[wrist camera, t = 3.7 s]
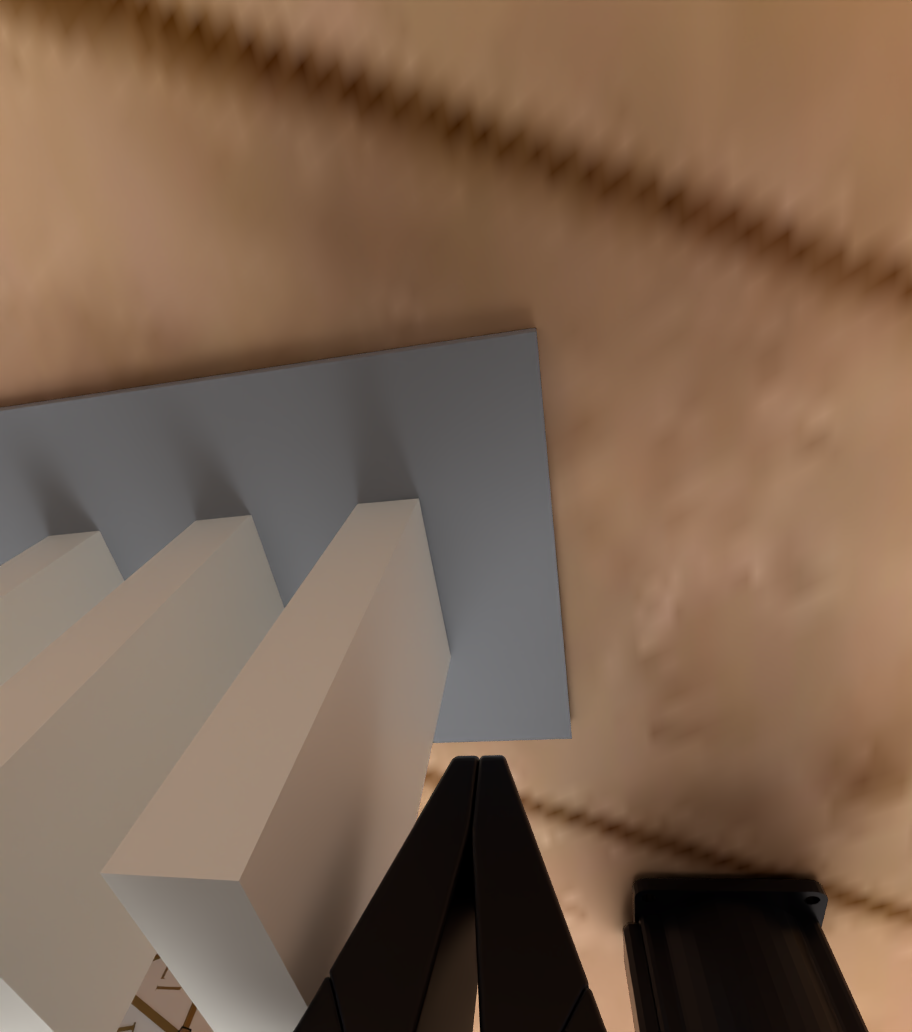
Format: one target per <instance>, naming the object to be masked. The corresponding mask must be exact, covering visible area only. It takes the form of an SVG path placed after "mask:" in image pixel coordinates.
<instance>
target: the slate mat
mask: <svg viewBox="0 0 912 1032" xmlns="http://www.w3.org/2000/svg"><path fill="white" fill-rule="evenodd" d="M418 498H419V502H420V507H421V512H422V517H423V522H424V527H425V532H426V537H427V541H428V546H429V551H430V556H431V561H432V566H433V571H434V576H435V581H436V586H437V591H438V596H439V601H440V606H441V610H442V615H443V620H444V625H445V630H446V635H447V640H448V645H449V650H450V655H451V658H450V663H449V668H448V672H447V677H446V682H445V686H444V691H443V696H442V701H441V705H440V710H439V715H438V720H437V724H436V729H435V734H434V738H433V743H445V742H477V741H509V740H541V739H572V734H571V723H570V711H569V700H568V688H567V677H566V665H565V654H564V642H563V631H562V619H561V608H560V596H559V584H558V573H557V561H556V550H555V538H554V527H553V515H552V504H551V492H550V481H549V469H548V458H547V446H546V435H545V423H544V412H543V400H542V389H541V377H540V366H539V354H538V343H537V331H536V328H530V329H524V330H517V331H510V332H503V333H497V334H490V335H483V336H477V337H470V338H463V339H457V340H450V341H443V342H436V343H430V344H423V345H416V346H410V347H403V348H396V349H390V350H383V351H376V352H370V353H363V354H356V355H349V356H343V357H336V358H329V359H323V360H316V361H309V362H303V363H296V364H289V365H282V366H276V367H269V368H262V369H256V370H249V371H242V372H236V373H229V374H222V375H216V376H209V377H202V378H195V379H189V380H182V381H175V382H169V383H162V384H155V385H149V386H142V387H135V388H128V389H122V390H115V391H108V392H102V393H95V394H88V395H82V396H75V397H68V398H61V399H55V400H48V401H41V402H35V403H28V404H21V405H15V406H8V407H1V408H0V566H1V565H2V564H4V563H6V562H7V561H9V560H10V559H12V558H14V557H15V556H17V555H19V554H20V553H22V552H23V551H25V550H27V549H28V548H30V547H32V546H33V545H35V544H36V543H38V542H40V541H41V540H43V539H45V538H46V537H48V536H53V535H63V534H72V533H82V532H92V531H100V533H101V535H102V537H103V539H104V541H105V543H106V545H107V547H108V549H109V551H110V553H111V555H112V557H113V559H114V561H115V563H116V565H117V567H118V569H119V571H120V573H121V575H122V577H123V579H124V581H125V580H126V579H128V578H129V577H130V576H131V575H132V574H133V573H135V572H136V571H137V570H138V569H139V568H141V567H142V566H143V565H144V564H145V563H146V562H148V561H149V560H150V559H151V558H152V557H153V556H155V555H156V554H157V553H158V552H159V551H161V550H162V549H163V548H164V547H165V546H166V545H168V544H169V543H170V542H171V541H172V540H173V539H175V538H176V537H177V536H178V535H179V534H180V533H182V532H183V531H184V530H185V529H186V528H188V527H189V526H190V525H191V524H192V523H193V522H195V521H197V520H207V519H216V518H226V517H236V516H245V515H252V518H253V521H254V524H255V527H256V530H257V532H258V535H259V538H260V541H261V544H262V546H263V549H264V552H265V555H266V558H267V561H268V563H269V566H270V569H271V572H272V575H273V577H274V580H275V583H276V586H277V589H278V591H279V594H280V597H281V600H282V603H283V606H284V608H285V607H286V606H287V604H288V603H289V601H290V600H291V598H292V597H293V596H294V594H295V593H296V591H297V590H298V588H299V587H300V586H301V584H302V583H303V581H304V580H305V578H306V577H307V576H308V574H309V573H310V571H311V570H312V568H313V567H314V566H315V564H316V563H317V561H318V560H319V558H320V557H321V555H322V554H323V553H324V551H325V550H326V548H327V547H328V545H329V544H330V543H331V541H332V540H333V538H334V537H335V535H336V534H337V533H338V531H339V530H340V528H341V527H342V525H343V524H344V522H345V521H346V520H347V518H348V517H349V515H350V514H351V512H352V511H353V510H354V508H355V507H356V505H357V504H361V503H372V502H384V501H395V500H407V499H418Z"/></svg>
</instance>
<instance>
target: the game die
mask: <svg viewBox="0 0 912 1032" xmlns="http://www.w3.org/2000/svg"><path fill="white" fill-rule="evenodd" d="M117 1032H214V1031H213V1030H212V1028H211V1027H210V1026H209V1024H208V1023H207V1021H206V1020H205V1019H204V1017H203V1016H202V1014H201V1013H200V1012H199V1010H198V1009H197V1007H196V1006H195V1005H194V1003H193V1002H192V1000H191V999H190V998H189V996H188V995H187V994H186V992H185V991H184V989H183V988H182V987H181V985H180V984H179V982H178V981H177V980H176V978H175V977H174V975H173V974H172V973H171V971H170V970H169V969H168V967H167V966H166V964H165V963H164V962H163V960H162V959H161V957H160V956H159V955H158V953H156V955H155V957H154V959H153V961H152V963H151V965H150V967H149V969H148V971H147V973H146V975H145V977H144V979H143V981H142V983H141V985H140V987H139V989H138V991H137V993H136V995H135V997H134V999H133V1001H132V1003H131V1005H130V1007H129V1009H128V1011H127V1012H126V1014H125V1016H124V1018H123V1020H122V1022H121V1024H120V1026H119V1028H118V1030H117Z"/></svg>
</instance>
